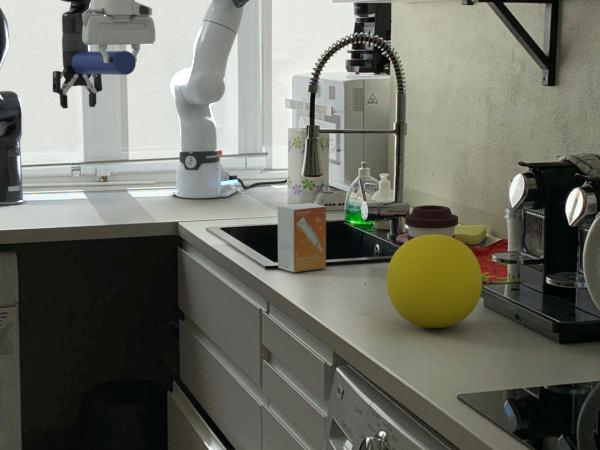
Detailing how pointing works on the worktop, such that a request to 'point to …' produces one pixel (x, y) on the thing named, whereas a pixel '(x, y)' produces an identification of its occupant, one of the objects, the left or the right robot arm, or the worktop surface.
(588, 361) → the worktop surface
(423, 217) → the coffee cup
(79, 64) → the rod
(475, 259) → the toy
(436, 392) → the worktop surface
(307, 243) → the small box
